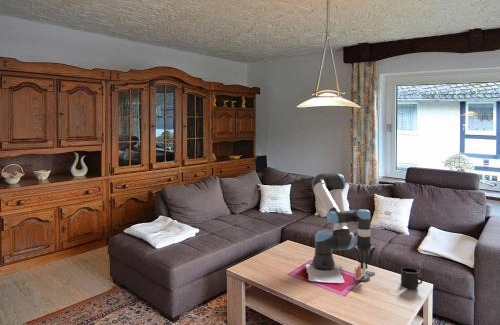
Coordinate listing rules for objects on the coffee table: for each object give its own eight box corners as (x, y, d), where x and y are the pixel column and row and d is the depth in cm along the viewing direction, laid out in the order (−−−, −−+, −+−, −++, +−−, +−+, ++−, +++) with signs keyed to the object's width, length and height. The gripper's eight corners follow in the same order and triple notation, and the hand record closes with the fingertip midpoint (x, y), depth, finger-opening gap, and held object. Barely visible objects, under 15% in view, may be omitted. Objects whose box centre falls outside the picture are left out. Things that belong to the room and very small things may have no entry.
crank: (360, 274, 220) (360, 261, 220) (366, 275, 218) (366, 263, 218) (354, 279, 212) (354, 266, 211) (361, 280, 209) (361, 267, 209)
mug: (418, 291, 198) (418, 275, 198) (397, 285, 207) (398, 270, 207) (425, 287, 204) (425, 271, 204) (405, 281, 213) (405, 266, 213)
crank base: (349, 279, 217) (349, 266, 216) (360, 275, 224) (360, 262, 224) (362, 283, 210) (362, 270, 209) (372, 279, 217) (372, 266, 217)
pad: (353, 272, 228) (353, 271, 228) (363, 269, 235) (363, 268, 235) (368, 277, 220) (368, 276, 220) (378, 273, 227) (378, 272, 227)
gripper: (373, 234, 213) (373, 272, 214) (351, 233, 215) (352, 271, 216) (376, 237, 206) (376, 276, 207) (354, 236, 207) (354, 276, 208)
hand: (364, 274), depth 211 cm, fingers closed
